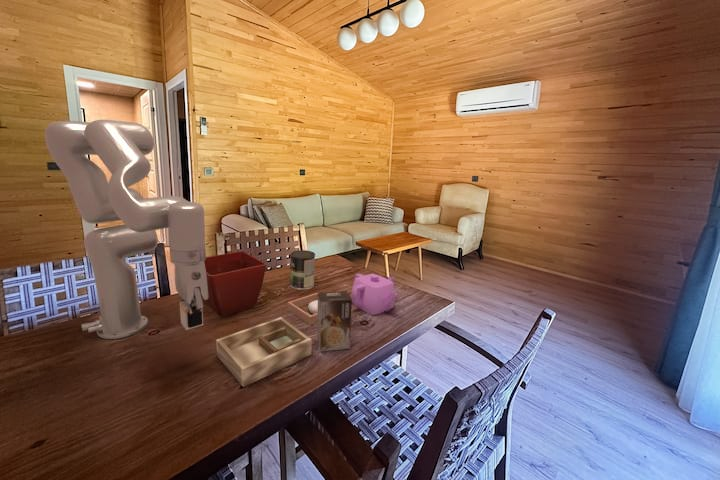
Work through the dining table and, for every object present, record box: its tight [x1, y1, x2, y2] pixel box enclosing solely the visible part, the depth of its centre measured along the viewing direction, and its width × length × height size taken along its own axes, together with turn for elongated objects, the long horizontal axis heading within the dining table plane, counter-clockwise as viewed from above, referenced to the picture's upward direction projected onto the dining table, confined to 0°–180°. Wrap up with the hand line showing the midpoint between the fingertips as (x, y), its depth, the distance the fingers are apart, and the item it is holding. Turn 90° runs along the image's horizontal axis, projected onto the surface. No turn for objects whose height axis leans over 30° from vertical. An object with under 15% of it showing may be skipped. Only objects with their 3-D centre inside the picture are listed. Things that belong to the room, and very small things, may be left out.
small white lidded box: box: [179, 298, 204, 331], centre depth 81 cm, size 4×4×6 cm
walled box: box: [215, 316, 313, 388], centre depth 89 cm, size 20×16×5 cm
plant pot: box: [204, 250, 267, 317], centre depth 113 cm, size 19×19×17 cm
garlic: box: [307, 300, 318, 315], centre depth 116 cm, size 8×7×4 cm
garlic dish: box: [287, 292, 319, 326], centre depth 115 cm, size 14×14×3 cm
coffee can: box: [289, 249, 316, 291], centre depth 135 cm, size 10×10×14 cm
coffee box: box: [316, 290, 353, 353], centre depth 94 cm, size 9×6×16 cm
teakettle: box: [350, 273, 399, 316], centre depth 121 cm, size 17×17×12 cm
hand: (191, 320), depth 81 cm, fingers closed on small white lidded box, 4 cm apart
